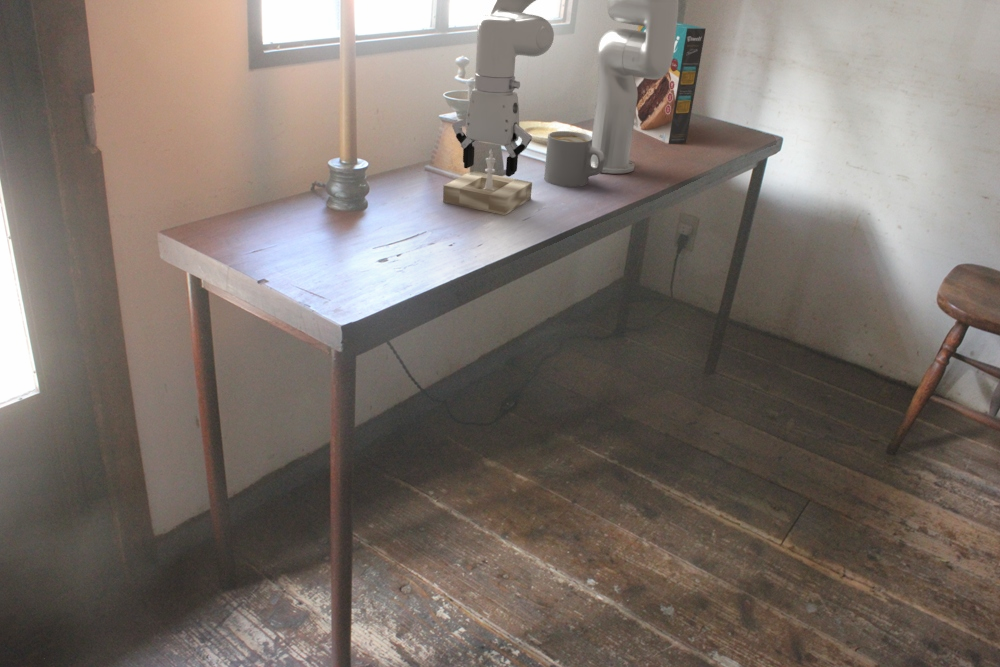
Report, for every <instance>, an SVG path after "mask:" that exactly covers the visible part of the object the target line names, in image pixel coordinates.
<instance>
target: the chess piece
mask: <svg viewBox="0 0 1000 667" xmlns="http://www.w3.org/2000/svg"><path fill="white" fill-rule="evenodd" d="M488 154H489V156H488V157H486V158H485V163H486V167H487V168H485V169H484V173H487V180H486V185H485V188H484V189H490V190H494V189H493V181H492V175H493V173H495V172H496V169H495V168H494V165H495V163H496V158H495V157H493V156H494V152H493V149H492V148H489V151H488Z"/></svg>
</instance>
